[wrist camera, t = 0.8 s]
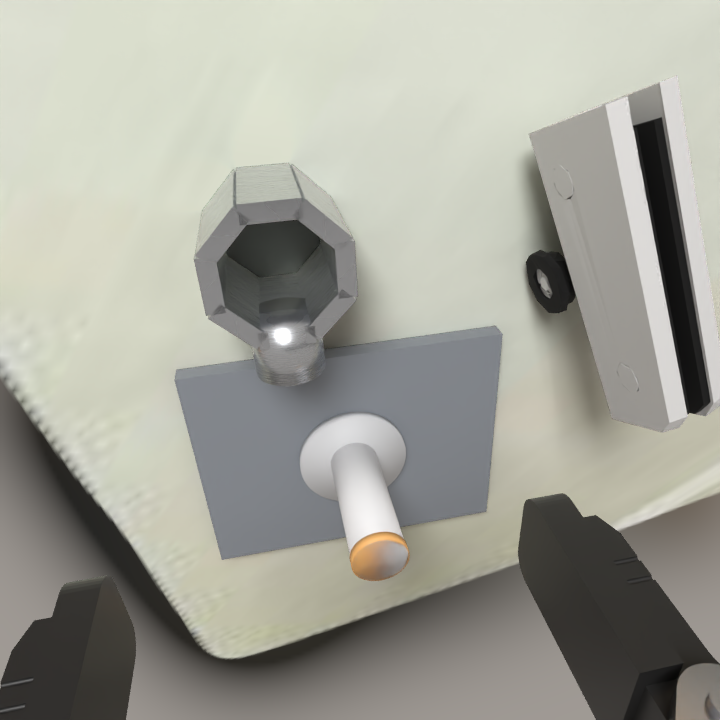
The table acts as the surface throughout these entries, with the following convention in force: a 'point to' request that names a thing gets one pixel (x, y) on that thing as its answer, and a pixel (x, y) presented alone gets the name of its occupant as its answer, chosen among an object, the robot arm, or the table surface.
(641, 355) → the bracket
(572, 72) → the table surface
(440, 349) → the panel
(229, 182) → the grey octagonal hollow block
